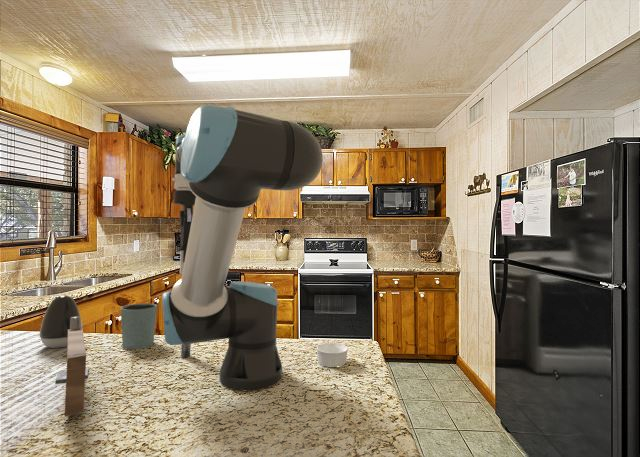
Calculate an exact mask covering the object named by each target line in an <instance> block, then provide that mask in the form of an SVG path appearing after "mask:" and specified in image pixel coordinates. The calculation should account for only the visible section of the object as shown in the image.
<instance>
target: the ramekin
mask: <svg viewBox="0 0 640 457" xmlns="http://www.w3.org/2000/svg"><path fill="white" fill-rule="evenodd" d="M348 351H349V348H348V347H347V345H345V344H342V343H337V342H324V343H320V344H318V345H317V346H316V354H317V355H316V356H317V362H318V364H319V365H320V364H321V365H323V366H322V367H324V366H328V367H337V366H341V365H344V364H345V363H346V364H347V358H348ZM346 364H345V365H346ZM321 365H320V366H321ZM345 365H344V366H345ZM328 367H327V368H328Z"/></svg>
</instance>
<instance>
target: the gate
mask: <svg viewBox="0 0 640 457" xmlns="http://www.w3.org/2000/svg"><path fill="white" fill-rule="evenodd" d="M83 330H84V329H83V327H82V328H78V329H69V330H68V342H67V346H66V347H67V353H66V355H67V356H66V357H67V358H66V361H67V362H66V370H67V377H66V381H65V397H64V398H65V399H64V400H65V402H64V403H65V404H64V417H70V416H74V415H78V414H81V413H84V411H85V410H84V409H85V407H84V406H85V390H86V389H85V387H86V386H85V385H86V378H85V370H86V367H87V365H86V364H87V353H86V352H87V351H86V344H85V337H84V335H85V334H84V331H83Z"/></svg>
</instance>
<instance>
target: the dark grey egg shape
mask: <svg viewBox="0 0 640 457" xmlns="http://www.w3.org/2000/svg"><path fill="white" fill-rule="evenodd" d="M77 316H80V317H81V314H80V311H79V307H78V304H77V303H76V302H75V300H74V299H73V297H72V296H69V295H64V294H63V295H56V296H55V298H54V299H53V300H52V301H50V304H49V305H48V306H47V309H46V311H45V313H44V316H43V318H42V322H41V326H40V330H39V338H40V340H41V342H42V344H43V345H44V346H45V347H47V348H51V349H60V348H65V347H67V342H68V330H69V329H70V319H71V317H77ZM80 328H83V325H82V321H81V322H80Z"/></svg>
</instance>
